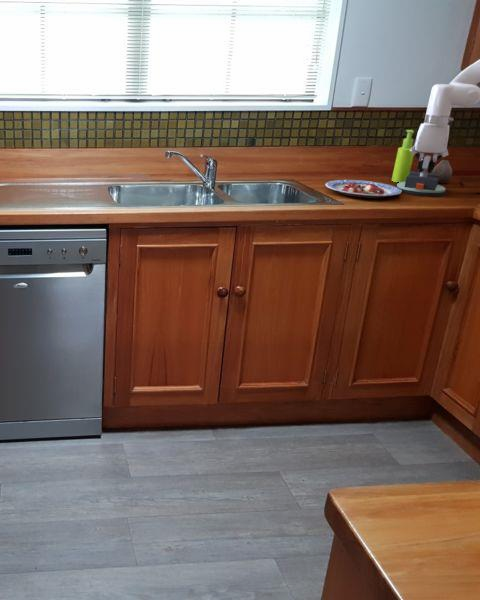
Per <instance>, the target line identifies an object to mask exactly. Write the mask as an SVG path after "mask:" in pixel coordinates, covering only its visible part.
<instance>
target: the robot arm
mask: <svg viewBox="0 0 480 600" xmlns="http://www.w3.org/2000/svg"><path fill="white" fill-rule="evenodd" d="M479 83H480V58H479V59H478V60H476V61H475V62H473V63H472V64H470V65H469V66H467V67H466V68H464V69H463V70H462V71H461V72H460V73H458V75H456V76H455V77H454V78H453V79H452V80H451V81H450V82H449V83H436V84H434V85H433V86H432V87H431V91H430V95H429V99H428V103H427V107H426V113H425V117H424V121H423V123H420V125H419V128H418V131H417V134H416V138H415V141H414V143H413V145H412V149H411V150H410V153H411V154H413V155H414V157H416V158H417V160H418V162H417V166H416V170H417V172H421V171H422V166H423V162H424V157H425V154H432V155H431V159H430V163H429V170H428V173H432V171H433V169H434V168H435V164H436V162H437V161H438V160H440V159H442V158H445V157H448V156H449V150H448V142H449V136H450V125H449V123H452V122H454V117H451V111H452V107H453V106H458V107H463V108H468V107H469V108H470V107H473V106H475V105H477V104H478V103H479V102H480V87H479V86H478V84H479Z"/></svg>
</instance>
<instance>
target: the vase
mask: <svg viewBox="0 0 480 600" xmlns="http://www.w3.org/2000/svg"><path fill="white" fill-rule="evenodd" d="M431 173H432V174H440V177H439V181H438V184H439V185H440V184H441V185H442V184H443V185H444V184H446V183H448V182H449V181H450V180H451V178H452V175H453V169H452V166H451V165H450V161H449V160H446V159H441V161H440V162H439V163H437V164H436V165H434V169H433V170H431Z"/></svg>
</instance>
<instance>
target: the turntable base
mask: <svg viewBox="0 0 480 600" xmlns="http://www.w3.org/2000/svg"><path fill="white" fill-rule="evenodd" d="M395 187H397V185H395ZM397 188H399V187H397ZM399 189H401V188H399ZM401 190H402V193H401V194H404V193H407V194H406V195H409V194H412V195H411V196H415V195H418V196H417V197H425V196H427V197H426V198H434V197H435V198H439V197H444V196H446V194H447V190H445V191H444V192H441V193H423V192H414V191H409V190H404V189H401Z"/></svg>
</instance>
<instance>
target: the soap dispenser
mask: <svg viewBox="0 0 480 600" xmlns="http://www.w3.org/2000/svg"><path fill="white" fill-rule="evenodd" d="M405 132H406V133H407V134H406V137H405V138H403V142H402V145H401V147H398V148H397V152H396V157H395V161H394V166H393V171H392V176H391V182H392V181H393V183H397V182H399V183H400V182H406V178H407V176H408V175H409V173H410V171H411V168H412V164H413V160H414V157H415V155H413V154H411V153H410V150H411V149H412V147H413V145H414V139H413V134H414V130H413V129H406V130H405Z"/></svg>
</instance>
